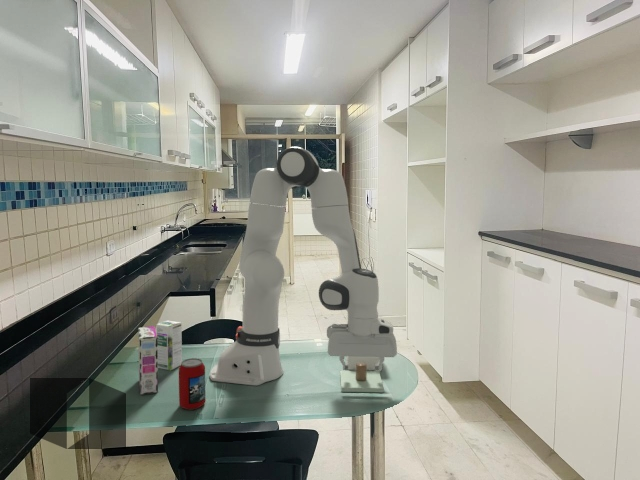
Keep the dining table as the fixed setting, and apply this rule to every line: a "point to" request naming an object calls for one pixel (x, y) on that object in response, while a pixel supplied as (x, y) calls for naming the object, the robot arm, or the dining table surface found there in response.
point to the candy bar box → (148, 360)
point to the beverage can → (191, 383)
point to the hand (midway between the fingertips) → (361, 370)
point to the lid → (361, 380)
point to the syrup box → (169, 344)
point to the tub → (367, 360)
